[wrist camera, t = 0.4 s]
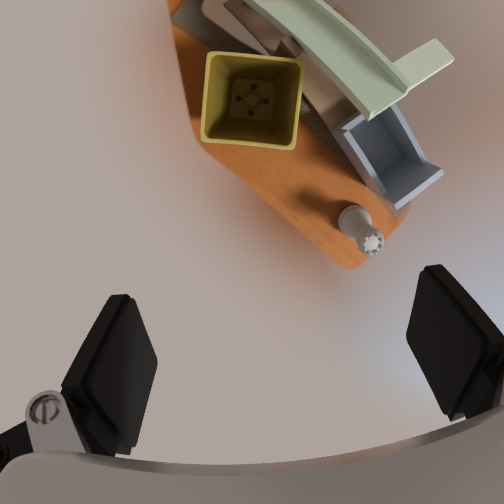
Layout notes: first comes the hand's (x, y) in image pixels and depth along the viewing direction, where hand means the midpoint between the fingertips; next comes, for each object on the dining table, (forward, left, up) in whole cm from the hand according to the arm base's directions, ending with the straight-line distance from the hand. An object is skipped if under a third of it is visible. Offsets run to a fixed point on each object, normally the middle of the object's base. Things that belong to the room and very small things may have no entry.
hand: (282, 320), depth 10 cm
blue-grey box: (-13, +7, -30) cm, 33 cm away
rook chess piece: (-5, +14, -30) cm, 34 cm away
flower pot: (-4, -6, -30) cm, 31 cm away
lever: (-16, -8, -21) cm, 28 cm away
